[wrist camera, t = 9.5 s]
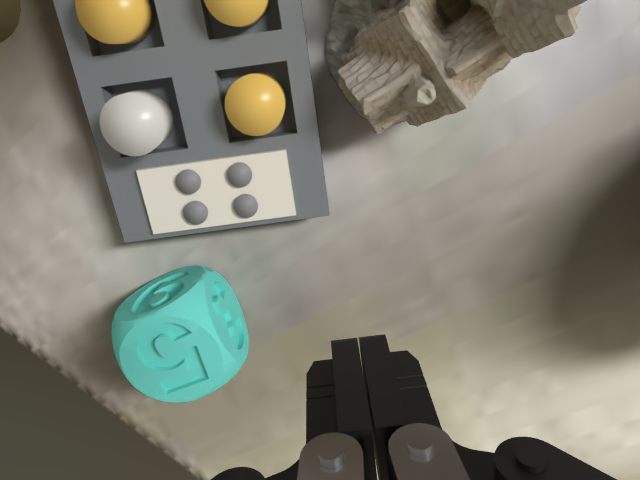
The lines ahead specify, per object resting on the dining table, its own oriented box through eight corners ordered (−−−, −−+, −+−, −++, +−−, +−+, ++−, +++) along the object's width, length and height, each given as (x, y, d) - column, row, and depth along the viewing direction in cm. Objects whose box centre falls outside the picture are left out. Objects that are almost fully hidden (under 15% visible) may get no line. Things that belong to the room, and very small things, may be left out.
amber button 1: (86, -17, 34) (66, -21, 31) (145, -25, 34) (130, -31, 31) (103, 47, 36) (86, 48, 33) (160, 39, 35) (147, 39, 33)
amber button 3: (226, 76, 36) (219, 79, 34) (281, 68, 36) (279, 70, 34) (236, 132, 38) (230, 139, 35) (290, 124, 38) (288, 131, 35)
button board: (59, -42, 35) (32, -51, 32) (290, -77, 35) (288, -89, 31) (136, 229, 42) (121, 246, 39) (328, 203, 42) (329, 218, 39)
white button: (108, 93, 35) (91, 98, 33) (165, 85, 35) (153, 89, 32) (124, 150, 37) (109, 160, 34) (179, 143, 37) (168, 151, 34)
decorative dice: (175, 358, 47) (150, 418, 40) (131, 286, 44) (95, 336, 37) (254, 328, 46) (243, 384, 39) (214, 253, 43) (194, 297, 36)
